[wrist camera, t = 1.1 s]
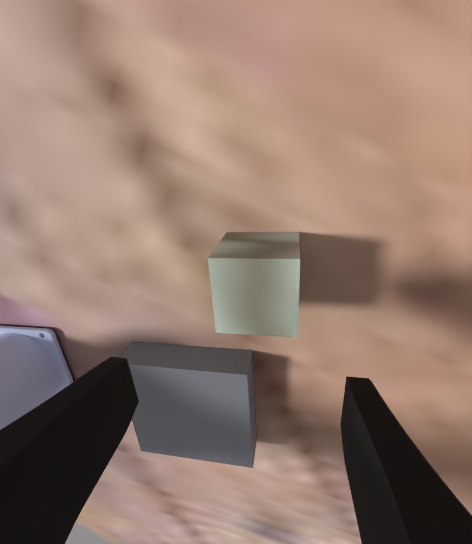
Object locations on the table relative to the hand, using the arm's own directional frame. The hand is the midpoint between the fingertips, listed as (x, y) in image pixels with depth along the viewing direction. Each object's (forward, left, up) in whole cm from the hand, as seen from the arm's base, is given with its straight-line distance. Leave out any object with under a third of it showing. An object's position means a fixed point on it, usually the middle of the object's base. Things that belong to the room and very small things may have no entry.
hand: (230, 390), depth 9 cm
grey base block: (-6, -12, -11) cm, 17 cm away
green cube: (0, 0, -10) cm, 10 cm away
